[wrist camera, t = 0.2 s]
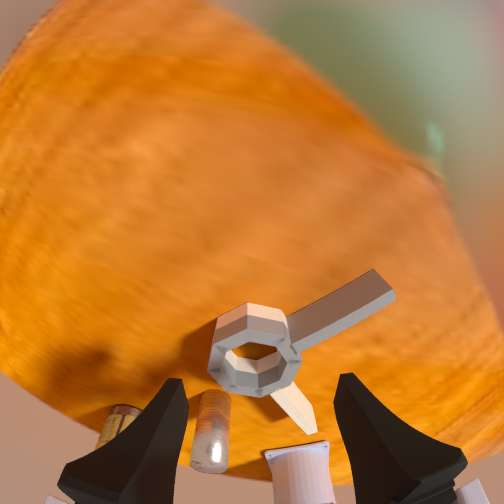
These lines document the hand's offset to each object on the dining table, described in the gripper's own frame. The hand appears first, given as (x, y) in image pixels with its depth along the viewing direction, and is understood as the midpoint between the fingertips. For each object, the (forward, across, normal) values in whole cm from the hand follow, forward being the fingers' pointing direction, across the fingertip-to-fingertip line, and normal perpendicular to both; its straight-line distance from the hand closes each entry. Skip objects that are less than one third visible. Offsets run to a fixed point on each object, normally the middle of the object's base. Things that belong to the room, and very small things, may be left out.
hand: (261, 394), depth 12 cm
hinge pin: (+10, +4, +12) cm, 16 cm away
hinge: (+10, -5, +5) cm, 12 cm away
